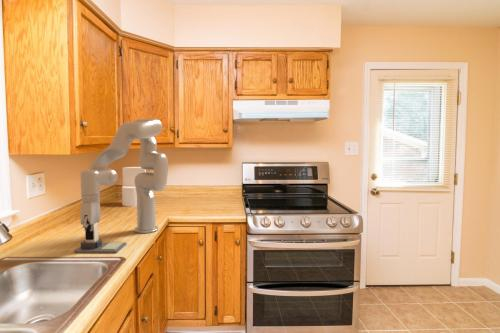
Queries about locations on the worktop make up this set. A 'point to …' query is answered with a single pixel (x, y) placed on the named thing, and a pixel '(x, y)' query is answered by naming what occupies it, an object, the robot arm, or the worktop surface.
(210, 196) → the worktop surface
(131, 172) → the white tall block
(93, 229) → the plug
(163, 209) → the worktop surface
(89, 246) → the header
